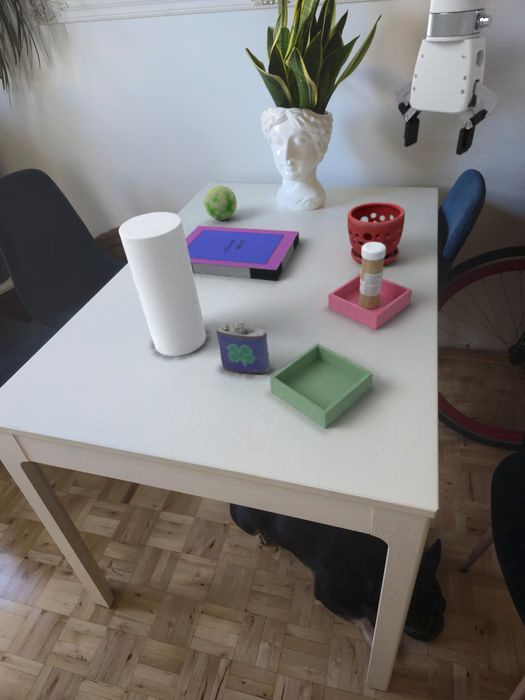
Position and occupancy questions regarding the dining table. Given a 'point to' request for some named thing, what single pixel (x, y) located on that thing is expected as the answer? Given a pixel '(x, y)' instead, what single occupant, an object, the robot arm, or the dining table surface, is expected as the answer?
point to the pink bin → (348, 305)
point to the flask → (243, 349)
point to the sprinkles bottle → (371, 274)
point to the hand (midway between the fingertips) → (435, 148)
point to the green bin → (321, 384)
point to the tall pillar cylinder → (164, 281)
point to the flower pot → (376, 228)
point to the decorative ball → (220, 202)
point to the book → (241, 251)
